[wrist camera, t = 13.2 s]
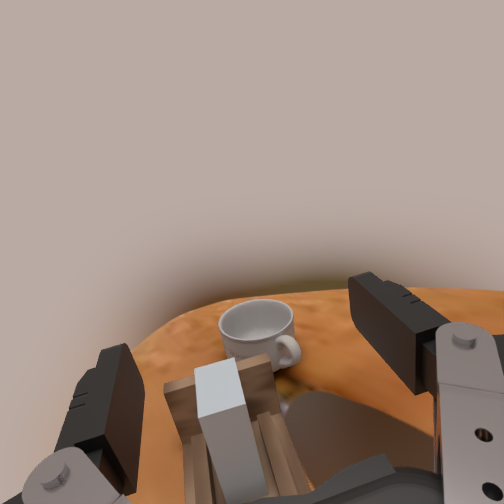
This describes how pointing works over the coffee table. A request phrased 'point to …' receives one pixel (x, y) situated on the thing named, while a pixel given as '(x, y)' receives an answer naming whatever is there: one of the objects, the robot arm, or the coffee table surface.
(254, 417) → the track block
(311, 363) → the coffee table surface
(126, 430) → the robot arm
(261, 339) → the teacup
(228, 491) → the tall grey pillar
